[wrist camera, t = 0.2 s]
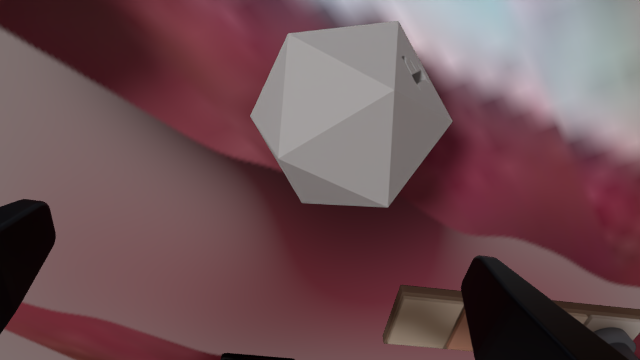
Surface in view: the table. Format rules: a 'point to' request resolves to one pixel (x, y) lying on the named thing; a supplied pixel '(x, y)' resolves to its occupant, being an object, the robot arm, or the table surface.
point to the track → (451, 323)
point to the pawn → (618, 341)
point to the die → (349, 114)
